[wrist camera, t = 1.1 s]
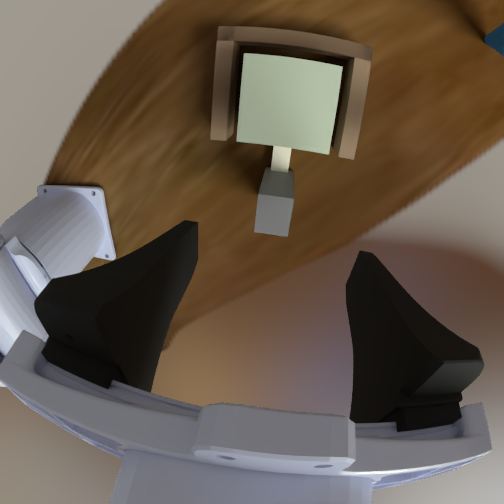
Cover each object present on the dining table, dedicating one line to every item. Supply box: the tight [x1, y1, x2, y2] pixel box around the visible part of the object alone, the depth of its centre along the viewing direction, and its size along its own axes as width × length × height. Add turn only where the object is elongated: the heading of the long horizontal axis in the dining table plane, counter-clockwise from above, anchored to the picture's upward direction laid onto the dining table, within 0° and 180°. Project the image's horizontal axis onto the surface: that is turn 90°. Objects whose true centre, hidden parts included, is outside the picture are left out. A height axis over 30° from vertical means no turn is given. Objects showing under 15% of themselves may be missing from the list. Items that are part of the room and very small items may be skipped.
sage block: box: [237, 53, 343, 237], centre depth 16 cm, size 10×5×5 cm, turn 175°
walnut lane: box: [210, 26, 373, 160], centre depth 15 cm, size 8×9×2 cm
